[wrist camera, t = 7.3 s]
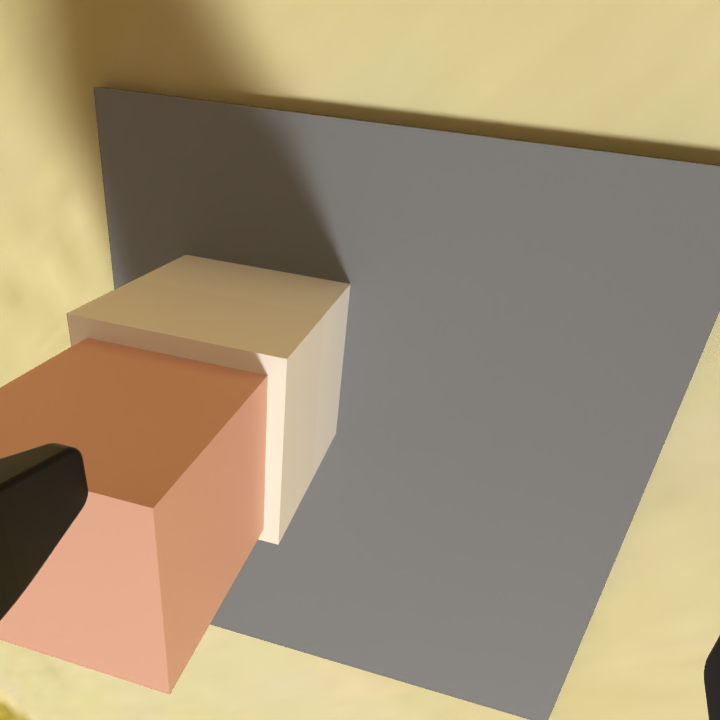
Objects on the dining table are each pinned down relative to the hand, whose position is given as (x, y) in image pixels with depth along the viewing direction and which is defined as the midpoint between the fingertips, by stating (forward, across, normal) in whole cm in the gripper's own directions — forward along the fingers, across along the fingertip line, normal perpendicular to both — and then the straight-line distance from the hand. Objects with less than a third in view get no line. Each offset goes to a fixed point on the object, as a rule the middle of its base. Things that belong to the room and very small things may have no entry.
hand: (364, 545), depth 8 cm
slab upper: (+8, +6, +3) cm, 11 cm away
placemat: (+12, +3, +7) cm, 14 cm away
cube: (+6, +6, +3) cm, 9 cm away
